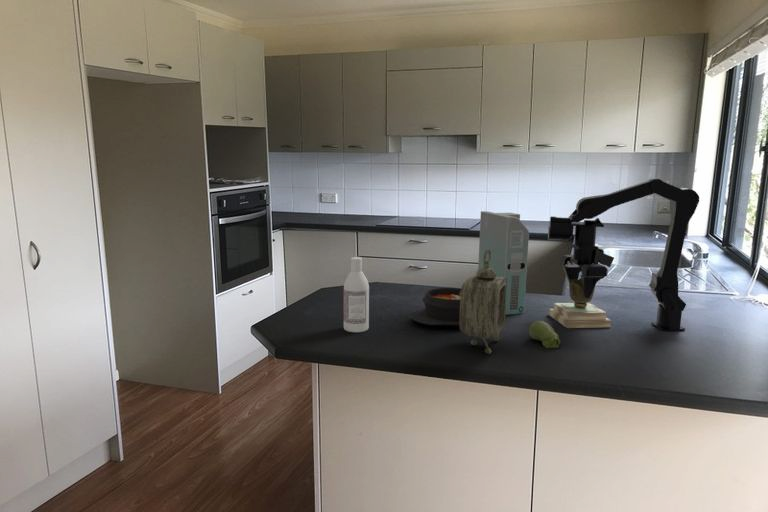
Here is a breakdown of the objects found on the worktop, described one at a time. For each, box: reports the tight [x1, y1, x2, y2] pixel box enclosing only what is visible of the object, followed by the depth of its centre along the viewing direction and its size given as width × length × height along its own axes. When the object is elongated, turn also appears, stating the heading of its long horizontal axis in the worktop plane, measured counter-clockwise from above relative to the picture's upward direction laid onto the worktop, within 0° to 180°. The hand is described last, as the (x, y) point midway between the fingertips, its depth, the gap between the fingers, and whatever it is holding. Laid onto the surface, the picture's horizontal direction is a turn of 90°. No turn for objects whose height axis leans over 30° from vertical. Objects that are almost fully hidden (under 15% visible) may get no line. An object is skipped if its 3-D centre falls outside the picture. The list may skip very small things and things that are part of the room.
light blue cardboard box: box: [477, 210, 530, 316], centre depth 179 cm, size 16×8×30 cm, turn 19°
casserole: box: [409, 287, 461, 328], centre depth 165 cm, size 25×19×8 cm
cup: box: [568, 277, 596, 308], centre depth 167 cm, size 8×7×8 cm
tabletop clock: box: [458, 249, 507, 355], centre depth 143 cm, size 14×9×25 cm, turn 158°
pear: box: [528, 320, 561, 349], centre depth 148 cm, size 6×5×10 cm
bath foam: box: [343, 256, 370, 333], centre depth 156 cm, size 7×7×20 cm
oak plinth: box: [548, 302, 612, 329], centre depth 168 cm, size 13×13×4 cm
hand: (580, 294), depth 167 cm, fingers open, 9 cm apart
